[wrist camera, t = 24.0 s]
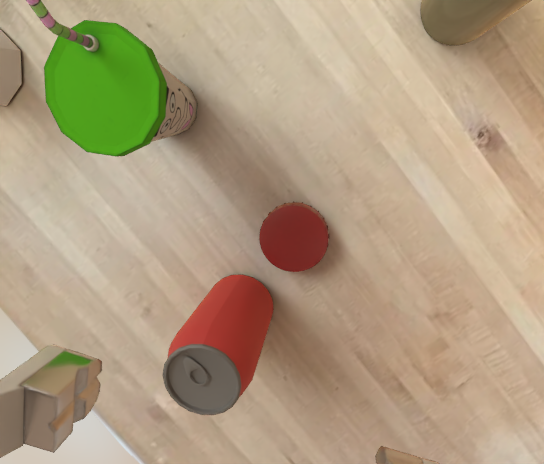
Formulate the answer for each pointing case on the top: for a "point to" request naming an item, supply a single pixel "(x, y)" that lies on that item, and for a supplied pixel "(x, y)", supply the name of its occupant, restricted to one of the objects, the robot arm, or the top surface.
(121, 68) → the cup
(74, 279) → the top surface
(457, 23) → the jar
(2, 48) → the flask
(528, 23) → the top surface
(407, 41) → the top surface
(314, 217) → the lid
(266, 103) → the top surface
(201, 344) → the beer can
